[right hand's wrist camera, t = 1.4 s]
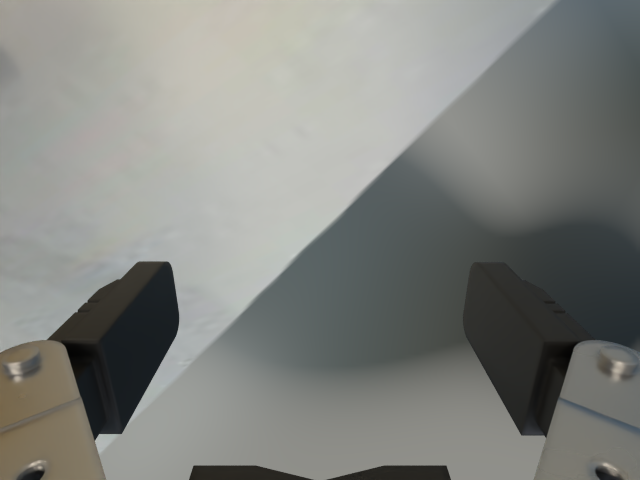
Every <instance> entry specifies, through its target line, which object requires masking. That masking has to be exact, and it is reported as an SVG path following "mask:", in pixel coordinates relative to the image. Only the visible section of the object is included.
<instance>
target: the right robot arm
mask: <svg viewBox="0 0 640 480" xmlns="http://www.w3.org/2000/svg"><path fill="white" fill-rule="evenodd" d="M178 326H179V310H178V304H177V297H176V290H175V283H174V277H173V271H172V267H171V265H170V263H169V262H137V263H136V264H135V265H134V266H133V267H132V268H131V269H130V270H129V271H128V272H127V273H126V274H125V275H124V276H123V277H122V278H121V279H120V280H116V281H114V282H112V283H110V284H108V285H106V286H104V287H102V288H101V289H99V290H98V291H97V292H96V293H95V294H94V295H93V296H92V297H91V298H90V299H89V300H88V303H85V304H84V305H82V306H81V307H80V308H79V309H78V312H75V313H74V314H73V315H72V316H71V317H70V318H69V319H68V320H67V321H66V322H65V323H64V324H63V325H62V326H61V327H60V328H59V329H58V330H57V331H56V332H55V333H54V334H52V335H51V336H50V337H49V338H48V339H47V340H40V341H33V342H28V343H24V344H20V345H18V346H15V347H12V348H10V349H7V350H5V351H3V352H1V353H0V480H106V477H105V474H104V471H103V467H102V464H101V461H100V457H99V454H98V451H97V447H96V444H95V440H96V438H97V436H98V435H99V434H122V433H123V431H124V429H125V427H126V425H127V424H128V422H129V420H130V418H131V416H132V414H133V413H134V411H135V409H136V407H137V405H138V404H139V402H140V400H141V398H142V396H143V395H144V393H145V391H146V389H147V387H148V386H149V384H150V382H151V380H152V378H153V377H154V375H155V373H156V371H157V369H158V368H159V366H160V364H161V362H162V360H163V358H164V357H165V355H166V353H167V351H168V349H169V348H170V346H171V344H172V342H173V340H174V339H175V337H176V334H177V331H178ZM463 326H464V331H465V334H466V337H467V339H468V341H469V343H470V344H471V346H472V348H473V350H474V351H475V353H476V355H477V357H478V359H479V360H480V362H481V364H482V366H483V368H484V369H485V371H486V373H487V375H488V376H489V378H490V380H491V382H492V384H493V385H494V387H495V389H496V391H497V393H498V394H499V396H500V398H501V400H502V401H503V403H504V405H505V407H506V409H507V410H508V412H509V414H510V416H511V417H512V419H513V421H514V423H515V425H516V426H517V428H518V430H519V432H520V434H521V435H545V437H546V441H545V444H544V447H543V451H542V454H541V457H540V461H539V464H538V467H537V471H536V474H535V477H534V480H640V353H639V352H637V351H635V350H633V349H630V348H628V347H625V346H622V345H620V344H616V343H612V342H607V341H599V340H595V339H594V338H593V337H592V336H591V335H590V334H589V333H588V332H587V331H586V330H585V329H584V328H583V327H582V326H581V325H579V324H578V323H577V322H576V321H575V320H574V319H573V318H572V317H571V316H570V315H569V314H568V313H565V310H564V309H563V308H562V307H561V306H560V305H559V304H555V301H554V300H553V299H552V298H551V297H550V296H549V295H548V294H547V293H546V292H545V291H544V290H543V289H541V288H539V287H537V286H535V285H533V284H531V283H529V282H528V281H526V280H522V279H521V278H520V277H519V276H518V275H517V274H516V273H515V272H514V271H513V270H512V269H511V268H510V267H509V266H508V265H507V264H506V263H504V262H475V263H473V264H472V266H471V268H470V273H469V279H468V286H467V292H466V299H465V306H464V312H463ZM189 480H312V479H308V478H304V477H300V476H296V475H292V474H288V473H284V472H280V471H275V470H271V469H267V468H263V467H259V466H193V469H192V472H191V476H190V479H189ZM328 480H451V479H450V476H449V472H448V469H447V466H381V467H377V468H373V469H369V470H365V471H361V472H356V473H352V474H348V475H344V476H340V477H336V478H332V479H328Z"/></svg>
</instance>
